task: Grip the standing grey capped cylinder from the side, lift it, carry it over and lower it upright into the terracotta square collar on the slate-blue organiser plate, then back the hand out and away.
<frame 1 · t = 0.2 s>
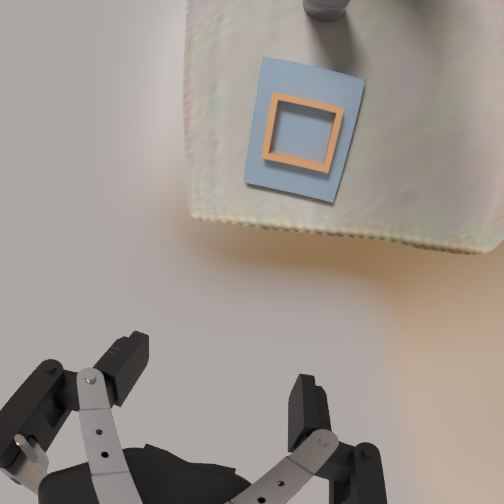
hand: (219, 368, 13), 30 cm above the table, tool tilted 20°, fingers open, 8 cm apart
grey capped cylinder: (323, 5, 22), on the table
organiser: (302, 129, 33), on the table
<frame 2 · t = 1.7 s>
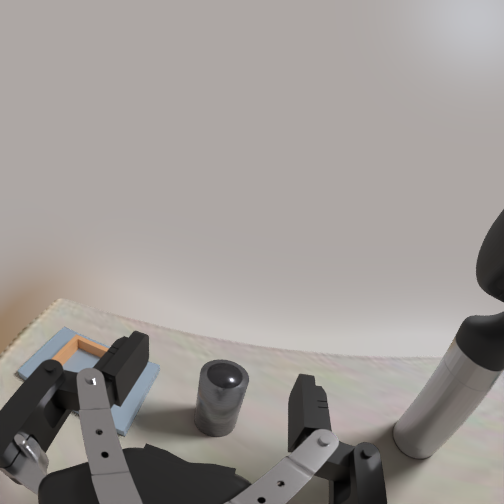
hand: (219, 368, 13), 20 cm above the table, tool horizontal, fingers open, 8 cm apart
grey capped cylinder: (214, 420, 30), on the table
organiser: (87, 376, 30), on the table
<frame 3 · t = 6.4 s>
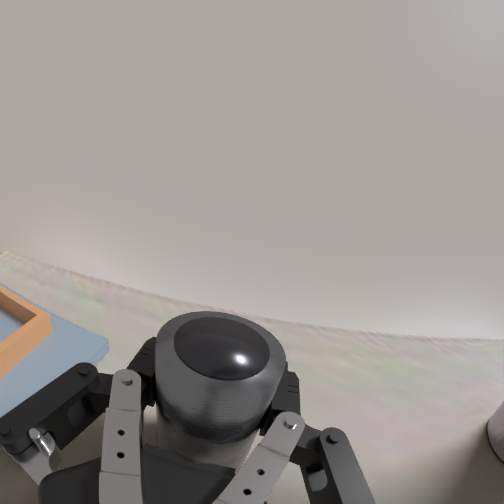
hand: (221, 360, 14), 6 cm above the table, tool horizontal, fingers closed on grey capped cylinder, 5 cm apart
grey capped cylinder: (201, 451, 13), on the table, touching gripper
when the fingers open (9 cm above the table, at t = 12.1 s): grey capped cylinder drops 1 cm, resting on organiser.
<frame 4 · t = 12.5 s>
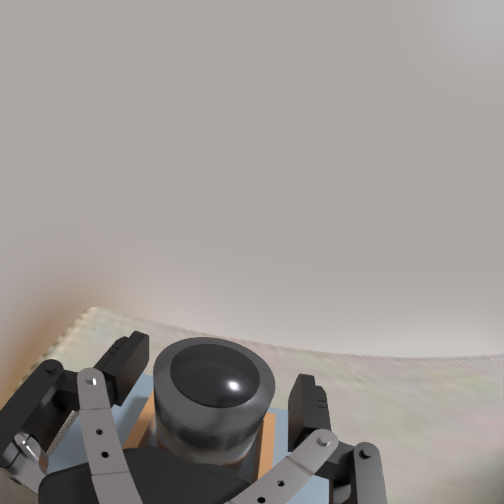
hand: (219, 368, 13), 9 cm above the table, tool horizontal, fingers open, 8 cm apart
grey capped cylinder: (198, 461, 13), point 1 cm above the table, touching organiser
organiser: (198, 467, 14), on the table
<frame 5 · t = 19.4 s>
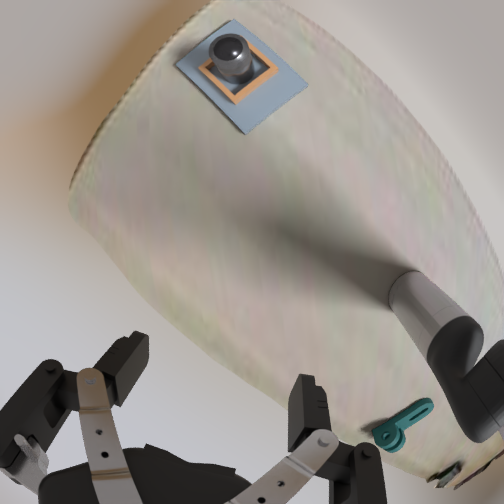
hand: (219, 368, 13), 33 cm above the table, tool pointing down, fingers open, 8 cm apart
grey capped cylinder: (238, 70, 36), point 1 cm above the table, touching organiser
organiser: (239, 72, 37), on the table
bracket: (403, 416, 56), on the table
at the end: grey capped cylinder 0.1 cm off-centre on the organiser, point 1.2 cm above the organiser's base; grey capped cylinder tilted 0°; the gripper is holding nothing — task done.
